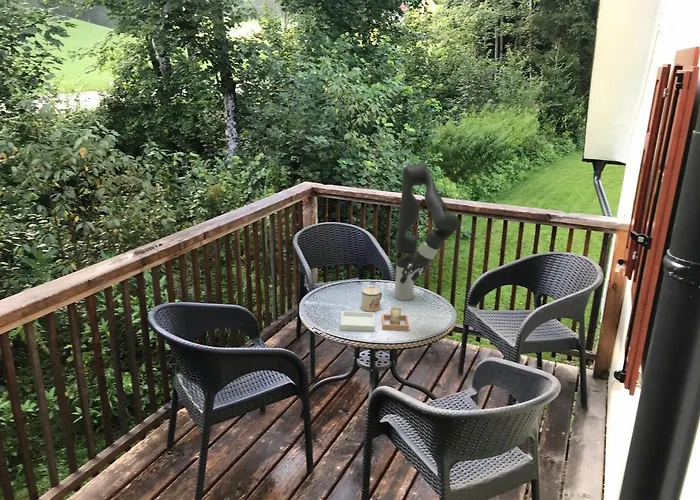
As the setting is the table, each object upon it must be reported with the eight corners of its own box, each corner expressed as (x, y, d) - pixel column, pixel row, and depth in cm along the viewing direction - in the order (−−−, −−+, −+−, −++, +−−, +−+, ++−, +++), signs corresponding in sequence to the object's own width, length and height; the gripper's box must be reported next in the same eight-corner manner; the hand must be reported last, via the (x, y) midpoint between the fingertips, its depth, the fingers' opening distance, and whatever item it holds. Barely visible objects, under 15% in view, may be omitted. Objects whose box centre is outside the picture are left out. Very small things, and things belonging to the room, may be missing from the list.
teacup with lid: (370, 313, 266) (371, 290, 263) (357, 307, 272) (358, 285, 269) (387, 307, 274) (389, 285, 271) (374, 301, 280) (375, 279, 277)
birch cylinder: (389, 322, 257) (390, 306, 255) (399, 323, 257) (400, 306, 255) (390, 326, 253) (391, 310, 250) (400, 327, 253) (401, 311, 250)
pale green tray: (341, 316, 262) (341, 311, 261) (373, 318, 261) (374, 312, 260) (340, 330, 247) (340, 324, 246) (374, 332, 247) (374, 326, 246)
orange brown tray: (381, 319, 261) (382, 314, 260) (406, 320, 260) (407, 315, 260) (382, 329, 249) (382, 324, 249) (408, 331, 249) (408, 325, 249)
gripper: (429, 246, 244) (410, 274, 252) (410, 248, 233) (391, 277, 241) (441, 257, 241) (422, 285, 248) (422, 259, 230) (403, 289, 237)
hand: (407, 281), depth 244 cm, fingers open, 8 cm apart
